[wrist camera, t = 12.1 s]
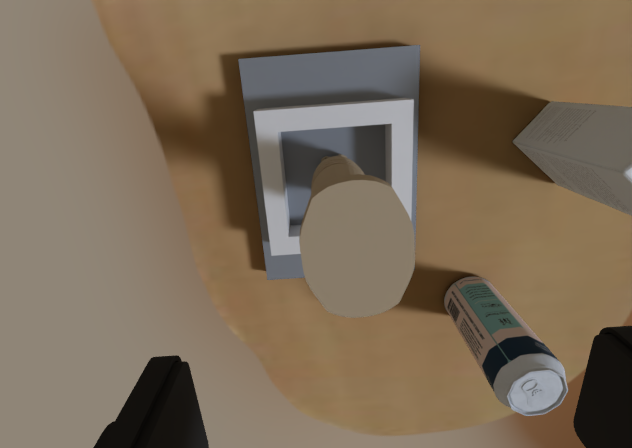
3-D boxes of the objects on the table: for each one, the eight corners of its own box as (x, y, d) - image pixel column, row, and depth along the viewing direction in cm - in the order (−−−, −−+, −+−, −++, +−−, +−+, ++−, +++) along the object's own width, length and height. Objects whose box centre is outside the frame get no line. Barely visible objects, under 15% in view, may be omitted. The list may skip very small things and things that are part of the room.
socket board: (241, 60, 28) (231, 57, 25) (414, 46, 28) (430, 41, 25) (269, 271, 35) (264, 295, 31) (410, 262, 35) (422, 284, 31)
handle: (310, 214, 31) (311, 323, 17) (299, 136, 29) (290, 188, 15) (368, 207, 31) (417, 310, 17) (361, 128, 29) (412, 172, 15)
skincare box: (597, 145, 31) (758, 183, 20) (556, 185, 32) (685, 241, 21) (550, 97, 30) (694, 108, 18) (508, 140, 31) (620, 175, 20)
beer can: (461, 325, 37) (525, 431, 26) (432, 295, 36) (486, 392, 25) (502, 296, 36) (588, 394, 25) (474, 264, 35) (550, 351, 24)
